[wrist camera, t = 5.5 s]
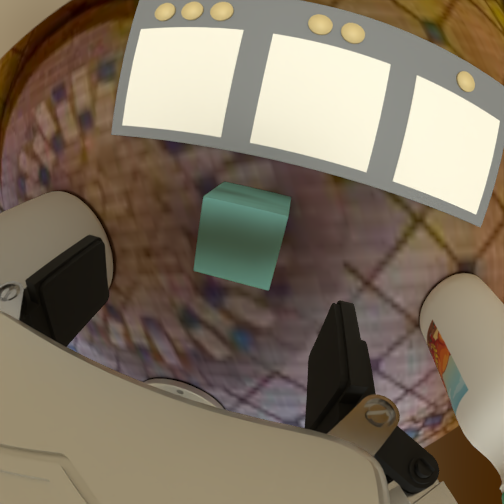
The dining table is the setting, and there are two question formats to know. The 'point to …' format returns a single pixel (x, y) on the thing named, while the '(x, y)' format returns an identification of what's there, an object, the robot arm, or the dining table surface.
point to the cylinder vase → (45, 234)
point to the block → (241, 234)
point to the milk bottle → (470, 358)
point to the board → (315, 96)
